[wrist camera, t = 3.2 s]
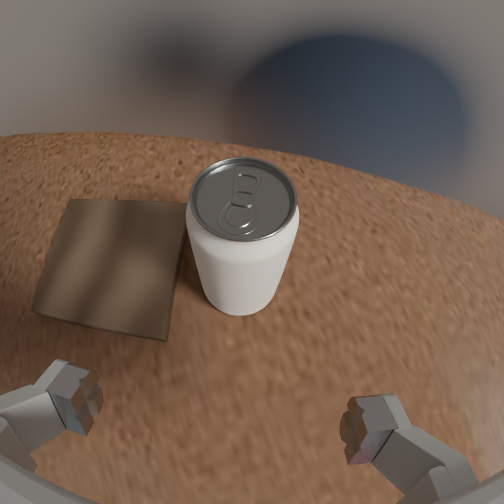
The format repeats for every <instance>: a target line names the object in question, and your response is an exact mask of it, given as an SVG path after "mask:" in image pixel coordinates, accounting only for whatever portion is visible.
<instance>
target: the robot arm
mask: <svg viewBox="0 0 504 504" xmlns="http://www.w3.org/2000/svg"><path fill="white" fill-rule="evenodd" d="M98 379H99V378H98V375H97V372H96V371H94V370H92V369H89V368H86V367H83V366H80V365H76V364H73V363H70V362H67V361H64V360H61V359H56V360H54V362H53V363H52V364H51V365H50V366H49V367H48V369H47V370H46V371H45V372H44V373H43V374H42V376H41V377H40V378H39V379H38V380H37V382H36V383H35V384H34V385H27V386H25V387H22V388H19V389H17V390H14V391H11V392H8V393H6V394H3V395H0V504H100V503H98V502H95V501H92V500H90V499H87V498H85V497H82V496H80V495H77V494H75V493H73V492H71V491H68V490H66V489H64V488H62V487H60V486H58V485H55V484H53V483H51V482H49V481H47V480H45V479H44V478H42V477H40V476H38V475H36V474H34V472H35V470H36V468H37V464H36V462H35V460H34V459H33V458H32V457H31V455H30V454H29V453H30V452H32V451H34V450H35V449H37V448H38V447H40V446H42V445H43V444H45V443H47V442H48V441H50V440H51V439H53V438H55V437H56V436H58V435H59V434H61V433H62V432H64V431H66V429H68V430H70V431H73V432H76V433H79V434H82V435H85V436H87V435H88V433H89V431H90V429H91V427H92V425H93V424H94V421H93V416H95V415H97V414H99V412H100V410H101V408H102V404H103V392H102V389H101V387H100V386H99V385H98V384H97V381H98ZM347 407H348V411H346V412H345V413H344V414H343V415H342V418H341V420H340V436H341V440H342V441H344V442H345V443H346V444H347V445H346V447H345V449H344V452H345V456H346V459H347V463H348V465H356V464H364V463H372V465H373V466H375V467H376V468H377V469H378V470H379V471H380V472H381V473H382V474H383V475H384V476H385V477H386V478H387V479H388V480H389V481H390V482H391V483H392V484H394V485H395V486H396V487H397V488H398V489H399V490H400V491H401V492H402V493H403V494H404V495H405V496H404V497H403V498H401V499H400V500H399V501H398V502H397V503H396V504H504V470H502V471H500V472H498V473H497V474H495V475H493V476H491V477H489V478H487V479H486V480H484V481H482V482H480V483H479V482H478V480H477V478H476V476H475V474H474V472H473V470H472V468H471V466H470V464H469V462H468V460H467V459H466V457H465V456H464V455H463V454H461V453H459V452H457V451H456V450H454V449H452V448H451V447H449V446H447V445H446V444H444V443H443V442H441V441H439V440H438V439H436V438H434V437H433V436H431V435H430V434H428V433H426V432H425V431H423V430H422V429H420V428H419V427H417V426H412V425H411V423H410V421H409V419H408V417H407V415H406V413H405V411H404V409H403V407H402V405H401V403H400V401H399V400H398V398H397V396H396V395H395V394H394V393H389V394H380V395H369V396H356V397H351V398H350V399H349V401H348V404H347Z"/></svg>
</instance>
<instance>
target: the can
mask: <svg viewBox="0 0 504 504" xmlns="http://www.w3.org/2000/svg"><path fill="white" fill-rule="evenodd" d="M186 224H187V230H188V234H189V239H190V243H191V247H192V251H193V255H194V258H195V262H196V266H197V270H198V273H199V277H200V280H201V284H202V287H203V290H204V293H205V295H206V297H207V298H208V300H209V301H210V302H211V304H212V305H213V306H215V307H216V308H217V309H218V310H220V311H222V312H224V313H226V314H230V315H249V314H253V313H255V312H257V311H259V310H261V309H262V308H264V307H265V306H266V305H267V304H268V303H269V302H270V300H271V299H272V297H273V296H274V294H275V291H276V289H277V286H278V284H279V281H280V278H281V276H282V273H283V270H284V268H285V265H286V262H287V259H288V256H289V254H290V251H291V248H292V245H293V242H294V239H295V236H296V233H297V229H298V224H299V211H298V206H297V194H296V190H295V187H294V185H293V183H292V181H291V180H290V178H289V177H288V176H287V175H286V174H285V173H284V172H283V171H282V170H281V169H280V168H278V167H277V166H275V165H273V164H271V163H269V162H267V161H264V160H261V159H257V158H252V157H232V158H227V159H223V160H220V161H218V162H215V163H213V164H212V165H210V166H208V167H207V168H205V169H204V170H203V171H202V172H201V173H200V174H199V175H198V176H197V178H196V179H195V181H194V182H193V184H192V187H191V190H190V195H189V202H188V205H187V209H186Z"/></svg>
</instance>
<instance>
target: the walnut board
mask: <svg viewBox="0 0 504 504" xmlns="http://www.w3.org/2000/svg"><path fill="white" fill-rule="evenodd" d="M187 205H188V203H172V202H154V201H132V200H104V199H71V200H70V202H69V205H68V207H67V209H66V212H65V214H64V216H63V219H62V221H61V223H60V226H59V228H58V231H57V234H56V236H55V239H54V241H53V244H52V247H51V250H50V252H49V255H48V258H47V261H46V264H45V267H44V270H43V273H42V277H41V280H40V283H39V287H38V290H37V294H36V297H35V301H34V305H33V309H32V311H33V312H35V313H36V314H38V315H41V316H45V317H49V318H52V319H56V320H60V321H64V322H68V323H72V324H77V325H81V326H85V327H90V328H94V329H99V330H104V331H109V332H114V333H119V334H124V335H129V336H135V337H141V338H147V339H153V340H159V341H166V342H167V338H168V331H169V325H170V318H171V312H172V306H173V300H174V294H175V288H176V282H177V277H178V271H179V266H180V261H181V256H182V251H183V246H184V241H185V236H186V231H187V224H186V209H187Z"/></svg>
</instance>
